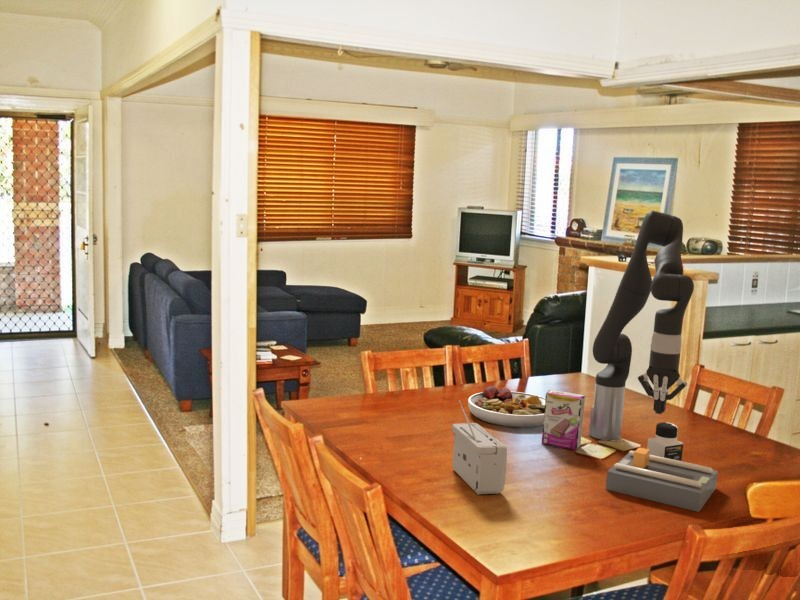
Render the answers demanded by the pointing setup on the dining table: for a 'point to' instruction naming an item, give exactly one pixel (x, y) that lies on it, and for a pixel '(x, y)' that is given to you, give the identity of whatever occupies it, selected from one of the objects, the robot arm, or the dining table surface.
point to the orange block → (641, 457)
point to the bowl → (508, 407)
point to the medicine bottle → (666, 442)
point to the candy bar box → (563, 419)
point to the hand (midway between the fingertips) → (658, 413)
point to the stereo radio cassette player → (479, 458)
